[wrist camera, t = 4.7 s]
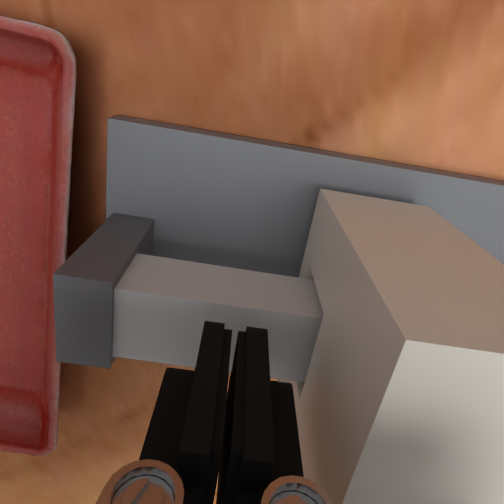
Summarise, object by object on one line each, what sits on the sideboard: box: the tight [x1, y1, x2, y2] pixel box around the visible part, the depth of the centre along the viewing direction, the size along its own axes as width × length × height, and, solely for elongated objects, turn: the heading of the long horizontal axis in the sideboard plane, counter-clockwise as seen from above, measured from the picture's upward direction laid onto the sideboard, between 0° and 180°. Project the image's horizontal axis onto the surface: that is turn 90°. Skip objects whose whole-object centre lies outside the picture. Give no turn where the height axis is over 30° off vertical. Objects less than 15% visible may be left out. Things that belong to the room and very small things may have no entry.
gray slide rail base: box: [53, 115, 504, 382], centre depth 15 cm, size 10×23×6 cm, turn 81°
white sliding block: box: [278, 189, 504, 504], centre depth 12 cm, size 8×4×9 cm, turn 171°
